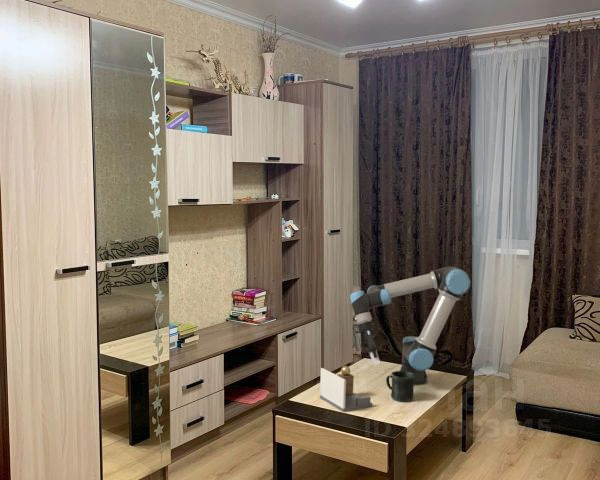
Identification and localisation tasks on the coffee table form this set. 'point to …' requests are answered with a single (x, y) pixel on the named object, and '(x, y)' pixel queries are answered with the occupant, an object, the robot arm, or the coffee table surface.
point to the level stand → (340, 393)
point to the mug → (401, 385)
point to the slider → (347, 379)
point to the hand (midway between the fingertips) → (376, 364)
